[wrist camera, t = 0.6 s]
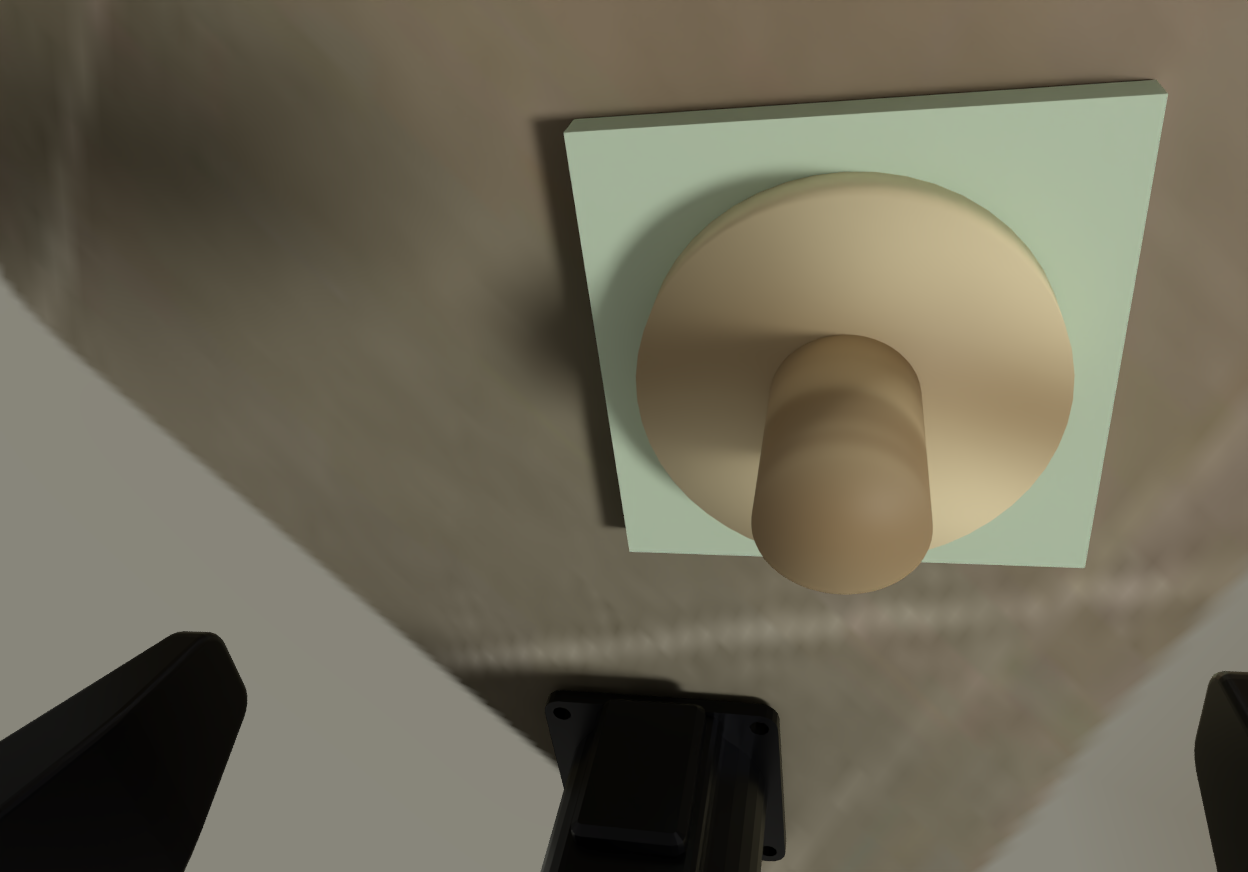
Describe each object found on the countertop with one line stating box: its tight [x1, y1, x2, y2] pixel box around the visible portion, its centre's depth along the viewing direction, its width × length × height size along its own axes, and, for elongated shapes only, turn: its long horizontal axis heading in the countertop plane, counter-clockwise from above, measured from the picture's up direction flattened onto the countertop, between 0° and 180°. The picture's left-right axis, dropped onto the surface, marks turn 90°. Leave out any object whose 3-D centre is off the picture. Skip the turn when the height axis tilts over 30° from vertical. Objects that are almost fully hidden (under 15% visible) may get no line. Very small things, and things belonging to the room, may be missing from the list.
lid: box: [636, 172, 1075, 594], centre depth 18 cm, size 8×8×5 cm
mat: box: [564, 80, 1168, 568], centre depth 20 cm, size 10×10×1 cm
